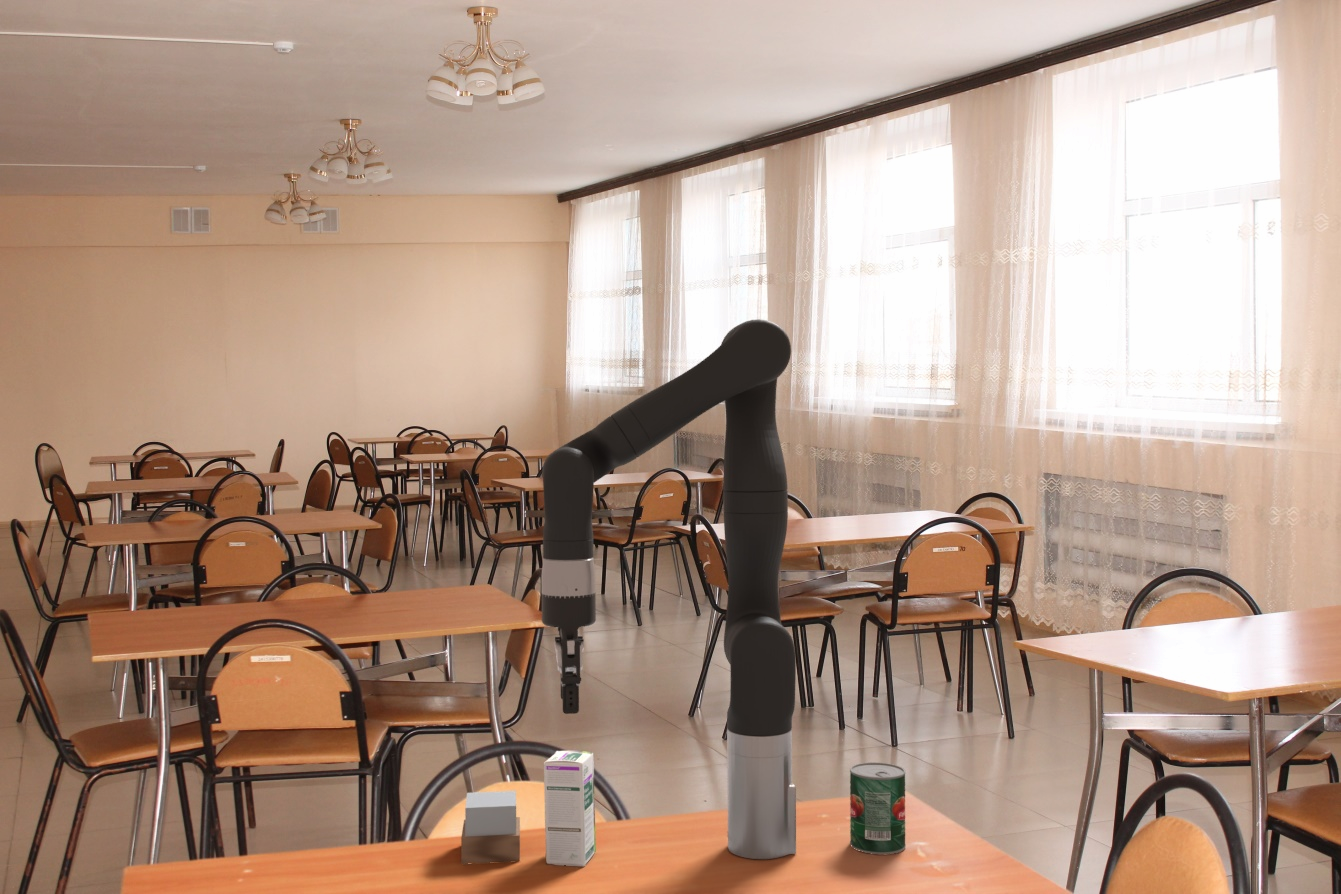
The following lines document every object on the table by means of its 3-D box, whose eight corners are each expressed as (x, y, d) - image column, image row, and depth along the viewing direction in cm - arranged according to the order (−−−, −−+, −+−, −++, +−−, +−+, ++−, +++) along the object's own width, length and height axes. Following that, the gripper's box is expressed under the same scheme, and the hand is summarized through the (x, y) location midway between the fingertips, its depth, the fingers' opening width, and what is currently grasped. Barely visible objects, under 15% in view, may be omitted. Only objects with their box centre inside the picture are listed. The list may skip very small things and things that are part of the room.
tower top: (516, 818, 173) (515, 790, 173) (516, 834, 166) (516, 805, 166) (467, 820, 172) (467, 792, 172) (465, 836, 165) (465, 807, 165)
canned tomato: (841, 839, 174) (840, 764, 174) (890, 834, 176) (889, 760, 176) (864, 858, 166) (864, 779, 166) (915, 852, 168) (915, 774, 168)
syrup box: (585, 867, 163) (584, 762, 163) (544, 864, 165) (543, 760, 164) (596, 852, 169) (595, 751, 169) (556, 850, 170) (555, 749, 170)
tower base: (519, 844, 174) (519, 817, 174) (519, 864, 166) (519, 835, 166) (464, 847, 173) (464, 819, 173) (461, 867, 165) (461, 838, 165)
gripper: (598, 596, 160) (599, 717, 160) (592, 583, 174) (593, 694, 174) (542, 598, 159) (543, 719, 159) (540, 584, 173) (541, 695, 173)
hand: (569, 706), depth 166 cm, fingers open, 8 cm apart
